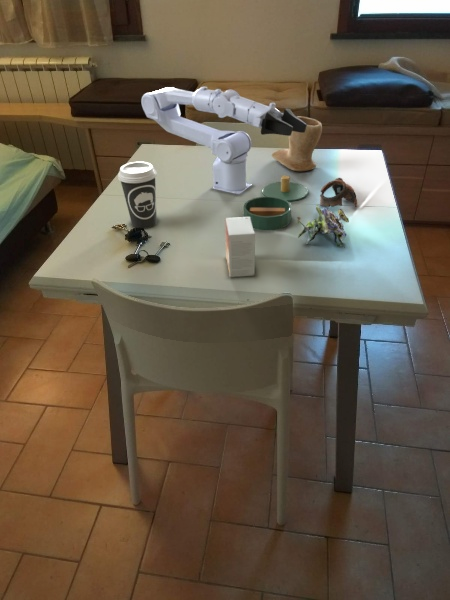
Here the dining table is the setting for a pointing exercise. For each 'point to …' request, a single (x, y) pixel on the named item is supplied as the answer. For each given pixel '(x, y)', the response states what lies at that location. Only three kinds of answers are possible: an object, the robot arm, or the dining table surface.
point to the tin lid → (285, 190)
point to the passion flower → (326, 225)
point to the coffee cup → (139, 192)
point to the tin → (268, 221)
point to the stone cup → (300, 147)
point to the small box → (240, 246)
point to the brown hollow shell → (338, 193)
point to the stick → (267, 211)
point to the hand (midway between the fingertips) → (298, 130)
